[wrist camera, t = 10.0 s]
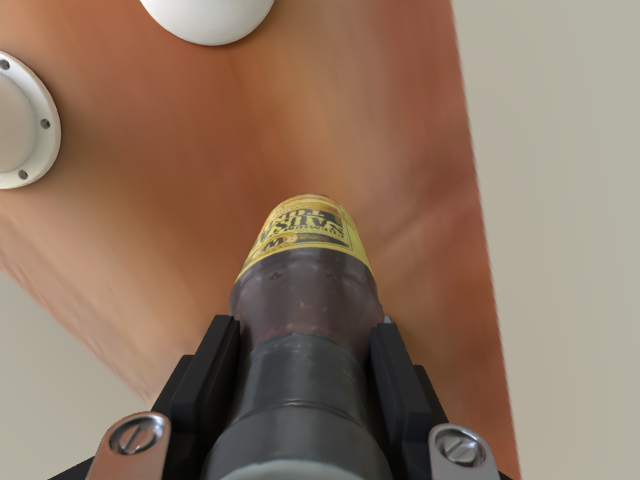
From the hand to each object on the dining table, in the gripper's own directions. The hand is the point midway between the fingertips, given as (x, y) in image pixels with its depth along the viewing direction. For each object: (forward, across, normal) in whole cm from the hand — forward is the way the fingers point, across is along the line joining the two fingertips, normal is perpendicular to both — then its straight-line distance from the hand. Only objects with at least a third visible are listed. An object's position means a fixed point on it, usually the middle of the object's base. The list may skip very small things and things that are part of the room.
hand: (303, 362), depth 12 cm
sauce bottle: (+15, 0, 0) cm, 15 cm away
